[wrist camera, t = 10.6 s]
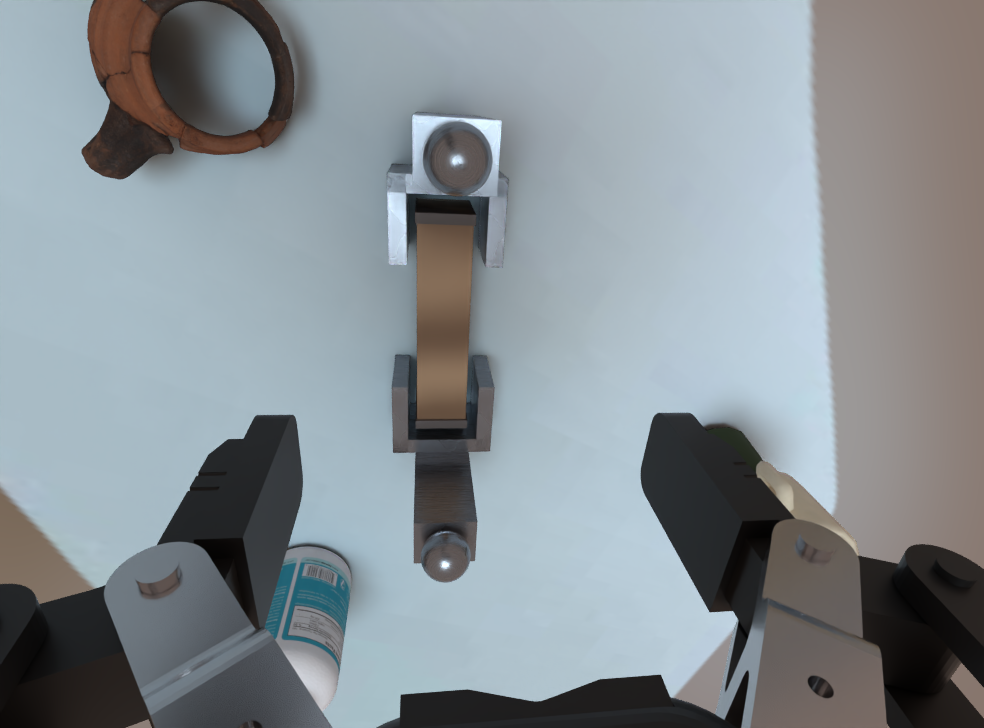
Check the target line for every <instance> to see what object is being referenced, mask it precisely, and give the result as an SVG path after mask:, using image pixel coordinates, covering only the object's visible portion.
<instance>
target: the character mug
mask: <svg viewBox="0 0 984 728" xmlns="http://www.w3.org/2000/svg"><path fill="white" fill-rule="evenodd" d="M707 432H708V433H709V434H714V435H716V436H717V437H719V438H720V439H722V440H723V441H725V442H726V443H728V444H729V445H731V446H733V447H734V448H735V450H736V451H737V452H738V453H739V454H740V455H741V457H742V458H743V459H744V460H745V461H746V465H749V466H750V467H751V468H752V469H753V470H754V471H755V473H756V474H757V478H761V479H762V481H763V482H764V483H765V484H766V485H767V486H768V488H769V489H770V490H771V491H772V492H773V493H774V494H775V496H776V497H777V498H778V499H779V500H780V501H781V502H782V504H783V505H784V506H785V507H786V508H787V509H788V510H789V512H790V513H791V514H792V515H793V516H794V517H795V519H799V520H805V521H810V522H813V523H816V524H818V525H821V526H823V527H825V528H827V529H829V530H831V531H833V532H834V533H836V534H837V535H839V536H840V537H842V538H843V539H844V540H845V541H846V542H847V543H848V544H849V545H850V546H851V547H852V548H853V549H854V551H855V552H856V554H857V556H859V552H858V547H857V543H856V541H855V540H854V538H853V537H852V536H851V535H850V534H849V533H848V532H847V531H846V530H845V529H844V528H843V527H842V526H841V525H840V524H839V523H838V522H837V521H836V520H835V519H834V518H833V517H832V516H831V515H830V514H829V513H828V512H827V511H826V510H825V509H824V508H823V507H822V506H821V505H820V504H819V503H818V502H817V501H816V500H815V499H814V498H813V497H812V496H811V495H810V494H809V493H808V492H807V491H806V490H805V488H804V487H803V486H801V485H800V484H799V483H798V482H797V481H796V480H795V479H794V478H793V477H791V476H790V475H788V474H786V473H783V472H778V471H777V470H776V469H775V468H774V467H773V466H772V465H771V464H770V463H768V462H765V461H763V460H762V458H761V457H760V455H759V454H758V453H757V451H756V450H755V449H754V447H753V446H752V445H751V443H750V442H749V441H748V440H747V438H746V437H745V436H744V434H743V433H742V432H741V431H738V430H735V429H732V428H729V427H727V428H716V429H710V430H707Z"/></svg>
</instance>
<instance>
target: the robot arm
mask: <svg viewBox="0 0 984 728" xmlns="http://www.w3.org/2000/svg"><path fill="white" fill-rule="evenodd" d="M198 473H199V475H198V476H196V478H195V479H194V481H193V483H192V485H191V486H190V491H188V492H187V493H186V495H185V497H184V499H183V500H182V502H181V504H180V505H179V507H178V509H177V511H176V512H175V514H174V516H173V518H172V519H171V521H170V523H169V525H168V526H167V528H166V530H165V532H164V533H163V535H162V537H161V539H160V540H159V542H158V544H157V546H153V547H151V548H148V549H145V550H143V551H141V552H139V553H137V554H136V555H134V556H132V557H131V558H129V559H128V560H126V561H125V562H124V563H123V564H121V565H120V566H119V567H118V568H117V569H116V570H115V571H114V573H113V574H112V575H111V576H110V578H109V580H108V581H107V583H106V585H105V586H102V587H99V588H96V589H93V590H90V591H86V592H82V593H79V594H75V595H71V596H68V597H64V598H60V599H57V600H53V601H50V602H46V603H42V604H39V603H38V600H37V598H36V596H35V594H34V593H33V592H32V590H30V589H29V588H27V587H25V586H22V585H17V584H0V728H126V727H128V726H131V725H134V724H137V723H139V722H142V721H145V720H147V719H149V721H150V724H151V726H152V728H332V726H331V725H330V723H329V722H328V720H327V719H326V717H325V716H324V714H323V713H322V711H321V709H320V708H319V706H318V705H317V703H316V702H315V700H314V699H313V697H312V696H311V694H310V693H309V691H308V690H307V688H306V686H305V685H304V683H303V682H302V680H301V679H300V677H299V676H298V674H297V673H296V671H295V670H294V668H293V666H292V665H291V663H290V662H289V660H288V659H287V657H286V656H285V654H284V653H283V651H282V650H281V648H280V647H279V645H278V643H277V642H276V640H275V639H274V637H273V636H272V635H271V633H270V632H269V631H268V630H267V629H266V628H265V625H266V621H267V618H268V614H269V611H270V607H271V604H272V600H273V597H274V593H275V590H276V586H277V583H278V579H279V576H280V572H281V569H282V565H283V562H284V558H285V555H286V551H287V548H288V544H289V541H290V537H291V534H292V530H293V527H294V524H295V520H296V517H297V513H298V510H299V506H300V502H301V497H302V487H303V475H302V465H301V456H300V448H299V439H298V430H297V423H296V419H295V416H294V415H257V416H255V417H254V419H253V421H252V423H251V425H250V427H249V429H248V431H247V433H246V435H245V437H244V439H228V440H227V441H225V442H224V443H223V444H222V445H220V446H219V447H218V448H216V449H215V450H214V451H213V452H211V453H210V454H209V455H208V457H207V458H206V460H205V462H204V464H203V465H202V467H201V469H200V471H199V472H198ZM641 484H642V488H643V491H644V494H645V496H646V498H647V500H648V501H649V503H650V505H651V507H652V509H653V510H654V512H655V514H656V516H657V518H658V519H659V521H660V523H661V525H662V527H663V529H664V530H665V532H666V534H667V536H668V538H669V539H670V541H671V543H672V545H673V547H674V548H675V550H676V552H677V554H678V556H679V557H680V559H681V561H682V563H683V565H684V567H685V568H686V570H687V572H688V574H689V576H690V577H691V579H692V581H693V583H694V585H695V586H696V588H697V590H698V592H699V594H700V596H701V597H702V599H703V601H704V603H705V605H706V606H707V608H708V610H709V612H722V611H733V612H734V613H735V615H736V617H737V618H738V619H737V622H736V625H735V627H734V630H733V634H732V639H731V643H730V648H729V653H728V658H727V663H726V668H725V672H724V677H723V682H722V687H721V692H720V697H719V701H718V706H717V710H716V713H715V714H713V713H711V712H710V711H708V710H706V709H703V708H701V707H699V706H696V705H694V704H692V703H689V702H685V701H682V700H679V699H676V698H671V697H670V696H669V694H668V691H667V689H666V686H665V684H664V682H663V679H662V677H661V675H651V676H638V677H625V678H612V679H600V680H597V681H594V682H592V683H589V684H586V685H584V686H581V687H578V688H576V689H573V690H571V691H568V692H565V693H563V694H560V695H557V696H555V697H552V698H549V699H547V700H544V701H538V702H534V701H527V700H522V699H516V698H511V697H506V696H500V695H495V694H489V693H484V692H478V691H473V690H455V691H442V692H429V693H416V694H403V695H401V701H400V718H397V719H395V720H392V721H390V722H387V723H385V724H383V725H381V726H379V727H377V728H887V724H888V726H889V727H890V728H984V718H983V717H982V716H981V715H980V714H979V712H978V711H977V710H976V709H975V708H974V706H973V705H972V704H971V703H970V702H969V700H968V699H967V698H966V697H965V696H964V695H963V693H962V692H961V691H960V690H959V688H958V687H957V686H956V685H955V684H954V683H953V681H952V680H951V679H950V678H951V677H952V675H953V674H954V672H955V671H956V670H957V668H958V667H959V665H960V664H961V663H963V665H965V667H966V668H967V669H968V670H969V671H970V672H971V674H972V675H973V676H974V677H975V678H976V679H977V680H978V682H979V683H980V684H981V685H982V686H983V687H984V569H982V568H981V567H980V566H978V565H977V564H975V563H974V562H972V561H971V560H969V559H967V558H965V557H963V556H961V555H959V554H957V553H955V552H953V551H950V550H947V549H944V548H941V547H937V546H933V545H925V544H920V545H913V546H911V547H909V548H908V549H907V550H906V551H905V553H904V555H903V557H902V559H901V561H900V562H899V564H896V563H891V562H886V561H881V560H877V559H871V558H866V557H862V556H857V554H856V552H855V551H854V549H853V548H852V547H851V546H850V545H849V544H848V543H847V542H846V541H845V540H844V539H843V538H842V537H840V536H839V535H837V534H836V533H834V532H833V531H831V530H829V529H827V528H825V527H823V526H821V525H818V524H816V523H813V522H810V521H805V520H799V519H795V517H794V516H793V515H792V514H791V513H790V512H789V510H788V509H787V508H786V507H785V506H784V505H783V504H782V502H781V501H780V500H779V499H778V498H777V497H776V496H775V494H774V493H773V492H772V491H771V490H770V489H769V488H768V486H767V485H766V484H765V483H764V482H763V481H762V479H761V478H757V474H756V473H755V471H754V470H753V469H752V468H751V467H750V466H749V465H746V461H745V460H744V459H743V458H742V457H741V455H740V454H739V453H738V452H737V451H736V450H735V448H734V447H733V446H731V445H729V444H728V443H726V442H725V441H723V440H722V439H720V438H719V437H717V436H716V435H714V434H709V433H708V432H707V431H706V430H705V429H704V427H703V426H702V425H701V424H700V423H699V421H698V420H697V419H696V418H695V417H694V416H693V415H692V414H691V413H657V414H656V415H655V416H654V418H653V420H652V424H651V428H650V432H649V436H648V441H647V445H646V449H645V453H644V458H643V462H642V466H641Z"/></svg>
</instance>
